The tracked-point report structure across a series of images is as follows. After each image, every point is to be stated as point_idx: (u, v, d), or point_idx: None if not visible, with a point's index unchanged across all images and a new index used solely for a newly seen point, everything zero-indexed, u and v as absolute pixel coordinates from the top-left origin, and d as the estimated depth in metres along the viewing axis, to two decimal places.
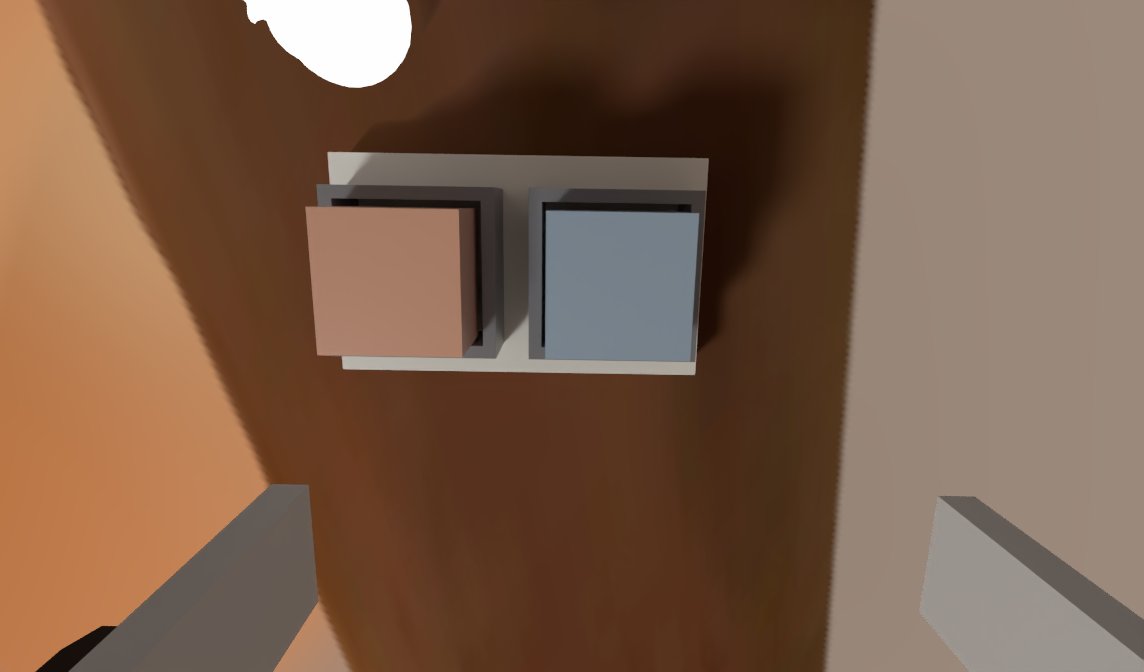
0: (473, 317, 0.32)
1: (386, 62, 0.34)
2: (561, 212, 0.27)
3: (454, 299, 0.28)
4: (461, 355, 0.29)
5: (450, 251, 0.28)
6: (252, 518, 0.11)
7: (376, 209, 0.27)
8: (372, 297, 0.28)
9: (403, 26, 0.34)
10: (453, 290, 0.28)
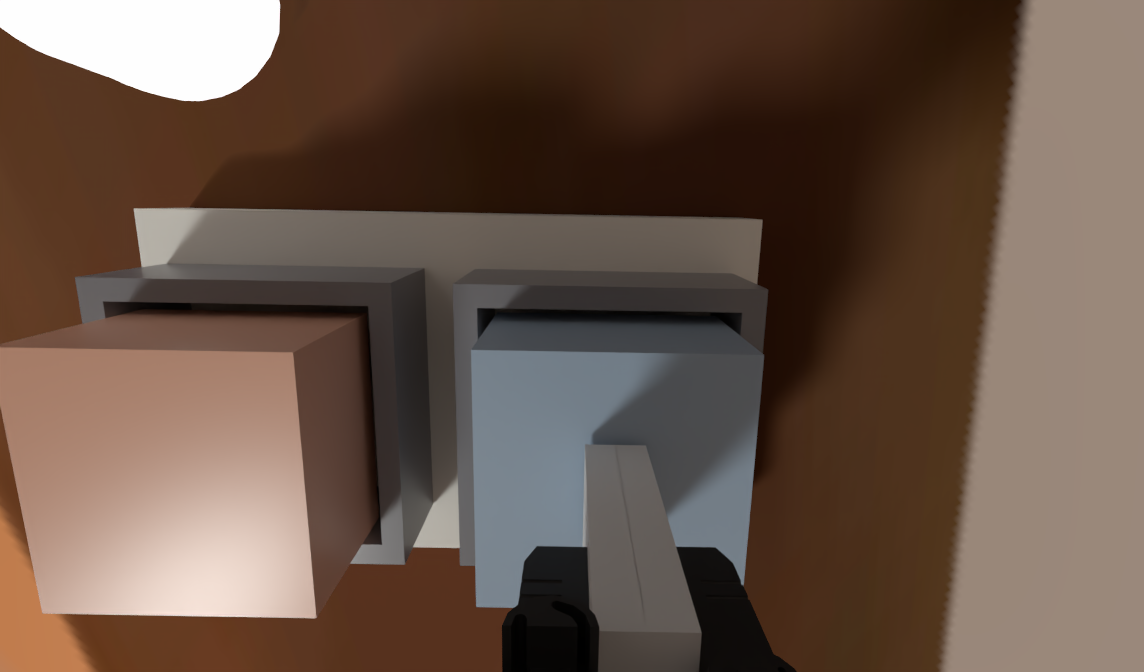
0: (360, 505, 0.18)
1: (226, 61, 0.20)
2: (500, 352, 0.14)
3: (295, 517, 0.15)
4: (314, 614, 0.15)
5: (281, 430, 0.14)
6: (600, 469, 0.13)
7: (130, 352, 0.14)
8: (137, 513, 0.15)
9: (254, 0, 0.20)
10: (292, 501, 0.15)
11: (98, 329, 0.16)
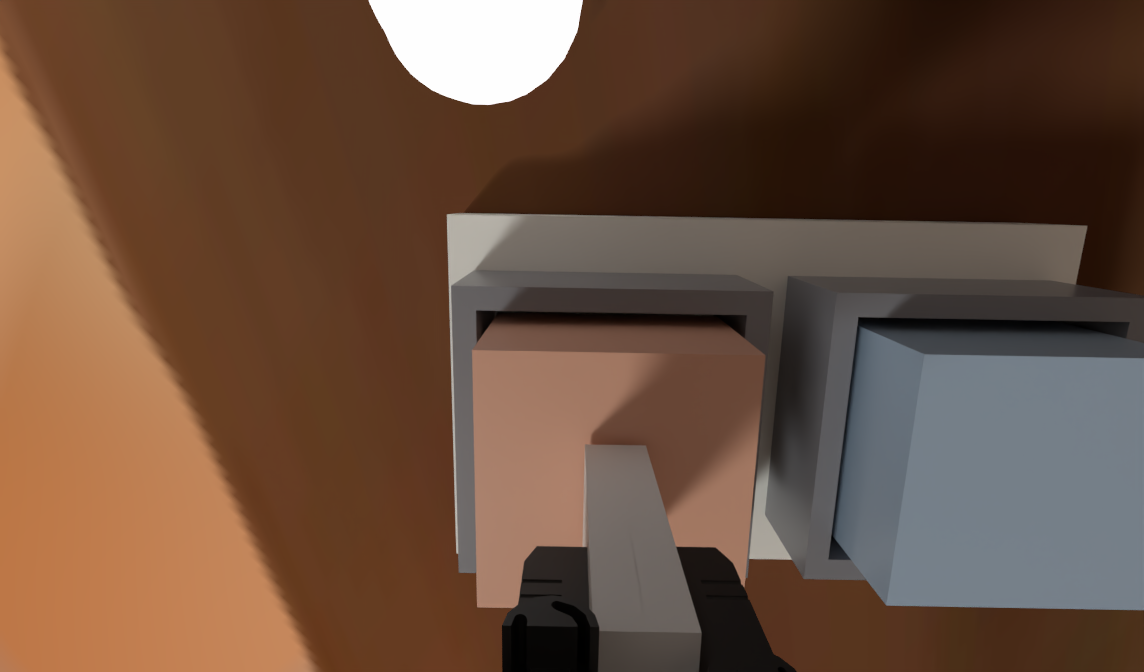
0: None
1: (549, 63, 0.20)
2: (951, 357, 0.15)
3: (739, 514, 0.15)
4: None
5: (741, 430, 0.15)
6: (600, 469, 0.13)
7: (607, 355, 0.14)
8: None
9: (579, 2, 0.20)
10: (738, 498, 0.15)
11: (518, 332, 0.16)
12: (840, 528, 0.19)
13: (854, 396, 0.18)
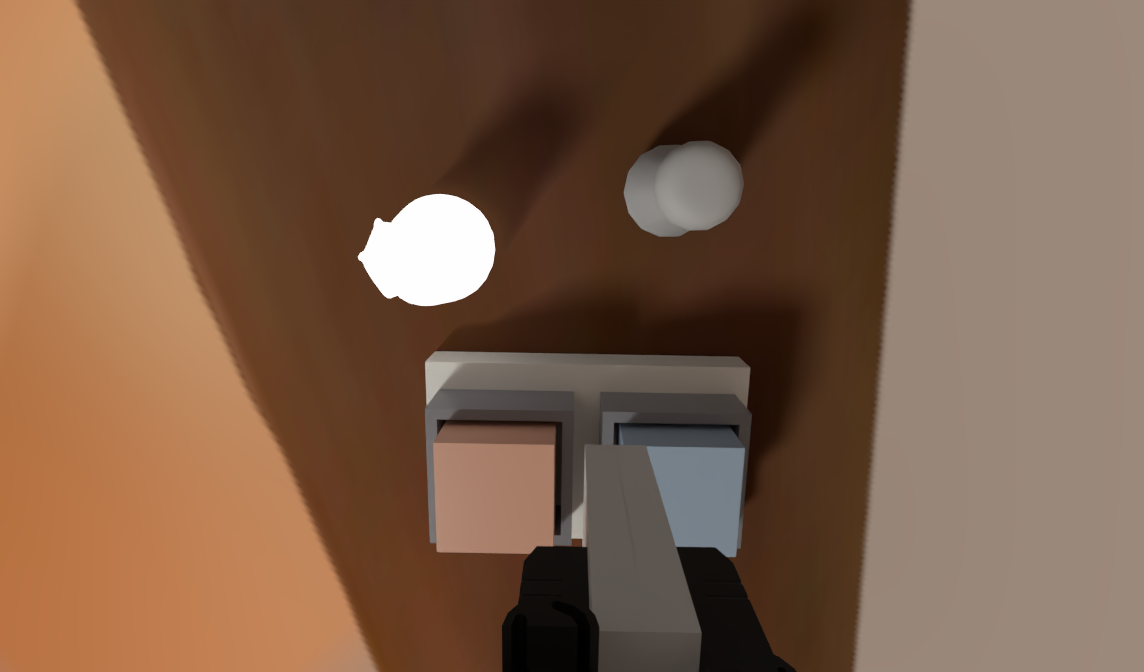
0: None
1: (476, 288, 0.40)
2: None
3: (548, 511, 0.35)
4: None
5: (546, 475, 0.35)
6: (601, 468, 0.13)
7: (489, 444, 0.34)
8: (483, 509, 0.35)
9: (491, 258, 0.40)
10: (548, 504, 0.35)
11: (456, 430, 0.36)
12: None
13: None
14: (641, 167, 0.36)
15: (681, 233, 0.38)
